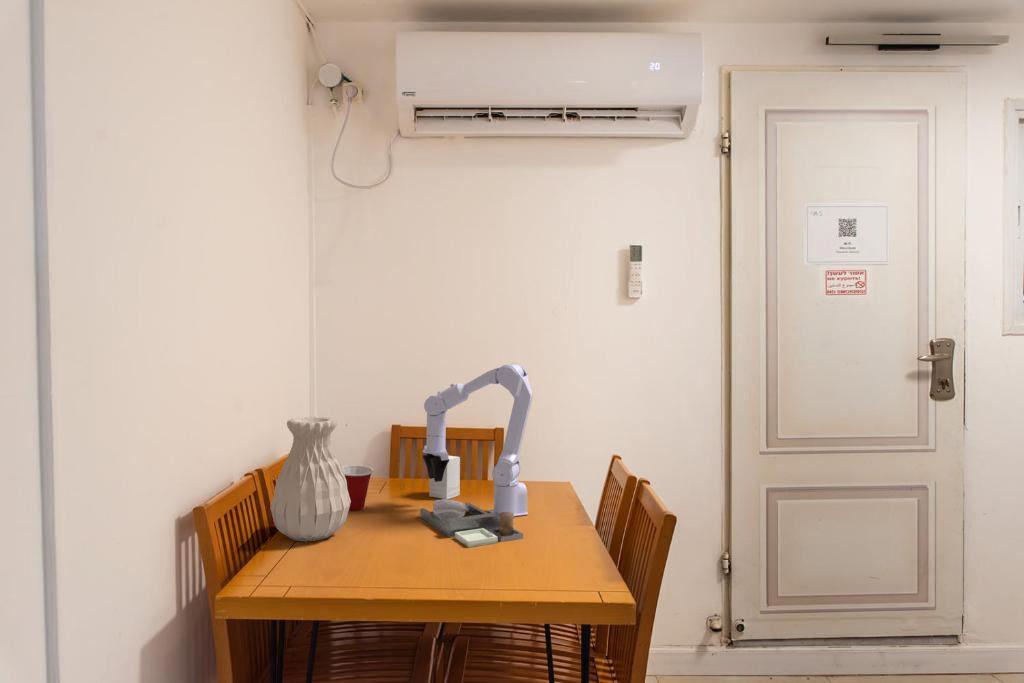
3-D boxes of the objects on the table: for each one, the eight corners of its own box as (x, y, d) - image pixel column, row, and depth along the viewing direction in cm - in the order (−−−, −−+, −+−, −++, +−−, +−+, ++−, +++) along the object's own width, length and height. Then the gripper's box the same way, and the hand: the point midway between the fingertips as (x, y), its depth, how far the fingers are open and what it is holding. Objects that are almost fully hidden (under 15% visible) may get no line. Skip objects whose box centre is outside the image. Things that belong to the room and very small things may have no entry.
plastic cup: (351, 515, 189) (352, 474, 189) (328, 508, 196) (328, 468, 195) (380, 507, 198) (381, 468, 197) (357, 501, 204) (357, 463, 204)
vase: (365, 535, 171) (366, 420, 170) (293, 553, 157) (294, 428, 156) (326, 519, 185) (327, 412, 184) (256, 534, 171) (257, 419, 170)
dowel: (508, 533, 175) (509, 511, 175) (515, 537, 171) (515, 514, 171) (496, 535, 173) (497, 512, 173) (503, 539, 170) (503, 516, 170)
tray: (483, 533, 174) (483, 528, 174) (497, 542, 167) (497, 536, 167) (454, 538, 170) (455, 532, 170) (468, 547, 163) (468, 541, 163)
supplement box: (460, 495, 214) (461, 456, 214) (446, 500, 208) (446, 460, 208) (442, 492, 218) (443, 454, 218) (428, 496, 212) (428, 457, 212)
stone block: (463, 517, 196) (430, 511, 195) (467, 501, 196) (434, 495, 194) (465, 531, 184) (430, 524, 183) (468, 514, 184) (433, 507, 183)
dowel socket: (511, 531, 177) (511, 526, 177) (523, 538, 171) (523, 533, 171) (489, 534, 173) (489, 530, 173) (500, 541, 168) (501, 537, 168)
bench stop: (468, 510, 196) (468, 497, 196) (501, 529, 178) (502, 515, 178) (420, 516, 189) (420, 503, 189) (449, 537, 170) (449, 522, 170)
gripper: (415, 432, 203) (414, 476, 203) (432, 439, 190) (432, 486, 191) (436, 431, 206) (435, 474, 207) (455, 438, 194) (454, 483, 194)
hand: (435, 479), depth 199 cm, fingers open, 4 cm apart
